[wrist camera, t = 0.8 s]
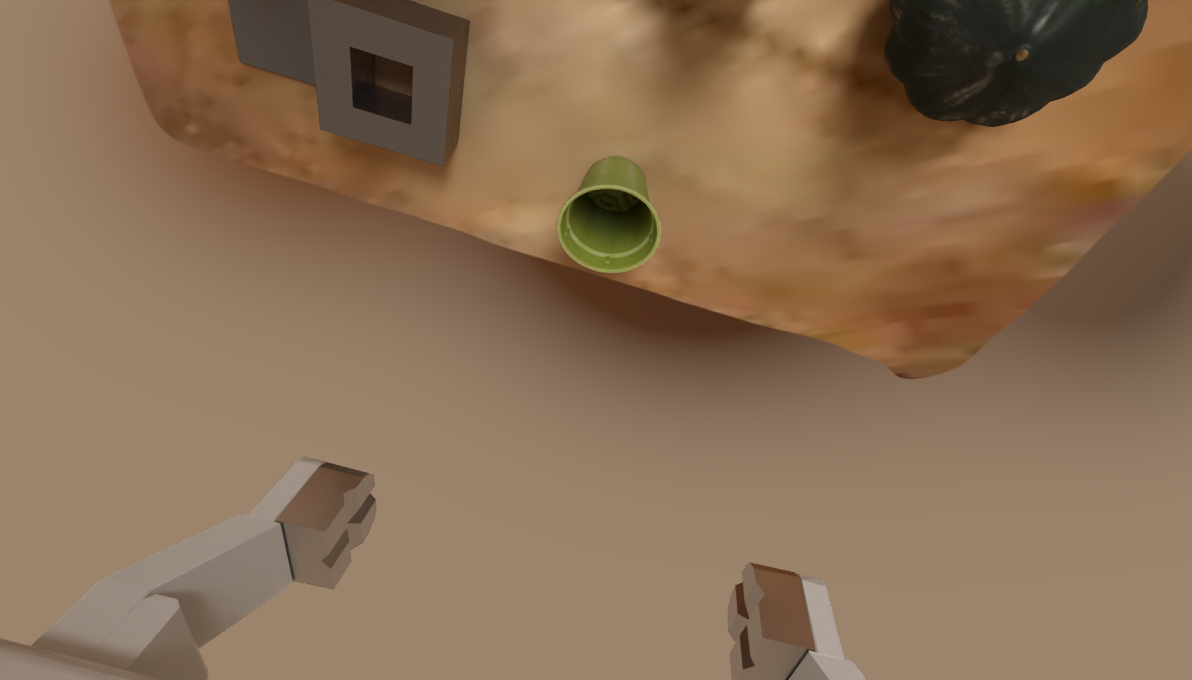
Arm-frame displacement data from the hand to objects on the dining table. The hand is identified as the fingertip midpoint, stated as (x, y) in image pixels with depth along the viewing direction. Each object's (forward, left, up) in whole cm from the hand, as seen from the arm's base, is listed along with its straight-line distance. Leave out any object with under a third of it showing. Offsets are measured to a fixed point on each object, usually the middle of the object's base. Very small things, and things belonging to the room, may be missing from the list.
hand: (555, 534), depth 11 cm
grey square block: (+11, -18, -44) cm, 49 cm away
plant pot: (+16, +3, -45) cm, 48 cm away
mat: (+11, -29, -44) cm, 54 cm away
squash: (-8, +24, -45) cm, 51 cm away
